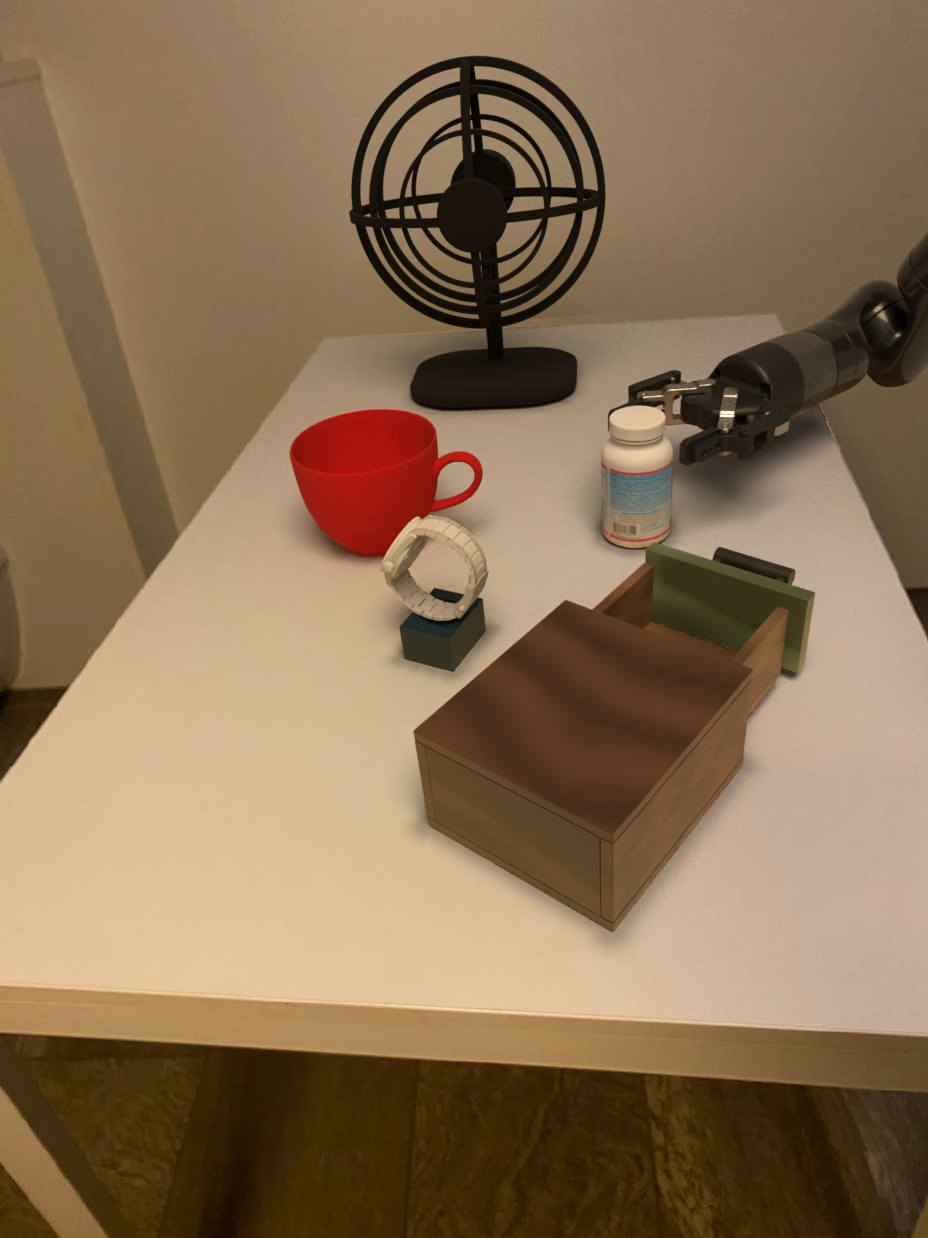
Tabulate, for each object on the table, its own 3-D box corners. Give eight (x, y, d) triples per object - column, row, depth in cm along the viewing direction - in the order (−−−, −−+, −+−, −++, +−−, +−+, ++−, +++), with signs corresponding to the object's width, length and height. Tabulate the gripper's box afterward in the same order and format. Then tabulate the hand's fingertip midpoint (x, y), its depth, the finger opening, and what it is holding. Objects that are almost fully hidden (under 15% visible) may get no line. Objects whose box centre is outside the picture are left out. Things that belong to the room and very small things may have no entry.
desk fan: (369, 422, 111) (314, 77, 90) (394, 363, 125) (351, 53, 104) (606, 413, 107) (605, 51, 86) (605, 354, 121) (604, 30, 100)
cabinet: (568, 690, 70) (565, 599, 65) (742, 765, 62) (753, 668, 57) (428, 825, 61) (412, 730, 56) (612, 932, 53) (613, 833, 48)
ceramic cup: (473, 582, 82) (462, 478, 76) (289, 572, 86) (265, 472, 80) (501, 506, 92) (494, 409, 86) (335, 501, 96) (318, 407, 90)
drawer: (681, 581, 78) (684, 514, 74) (831, 631, 71) (843, 559, 67) (543, 714, 67) (539, 642, 63) (706, 788, 60) (712, 712, 56)
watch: (417, 614, 79) (400, 496, 73) (505, 635, 76) (495, 513, 69) (382, 653, 75) (360, 533, 69) (473, 677, 72) (460, 553, 65)
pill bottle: (684, 533, 85) (691, 416, 79) (633, 558, 83) (635, 439, 76) (638, 508, 90) (640, 395, 83) (587, 531, 87) (585, 416, 81)
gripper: (833, 443, 86) (705, 507, 79) (712, 399, 95) (589, 452, 88) (845, 362, 81) (711, 422, 74) (717, 324, 91) (588, 374, 84)
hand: (644, 438), depth 81 cm, fingers open, 8 cm apart
